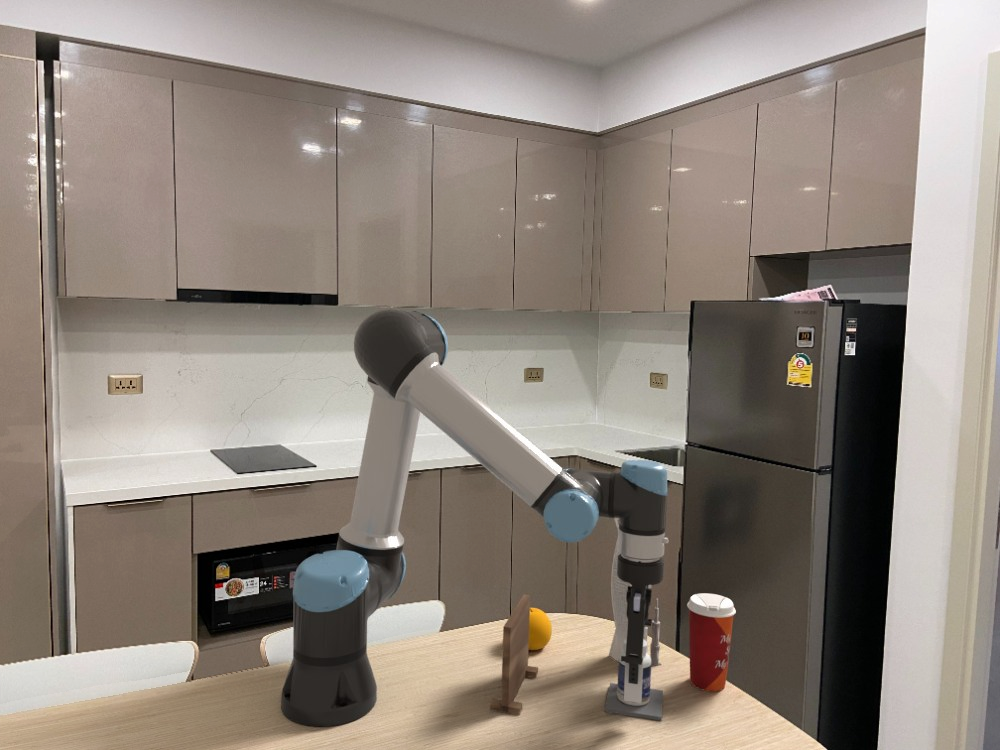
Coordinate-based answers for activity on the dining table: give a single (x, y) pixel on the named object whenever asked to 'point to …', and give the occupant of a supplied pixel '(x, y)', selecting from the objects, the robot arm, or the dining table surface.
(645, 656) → the pill bottle
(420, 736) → the dining table surface
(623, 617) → the skyscraper
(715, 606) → the coffee cup
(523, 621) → the screen
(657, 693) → the coaster
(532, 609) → the orange
